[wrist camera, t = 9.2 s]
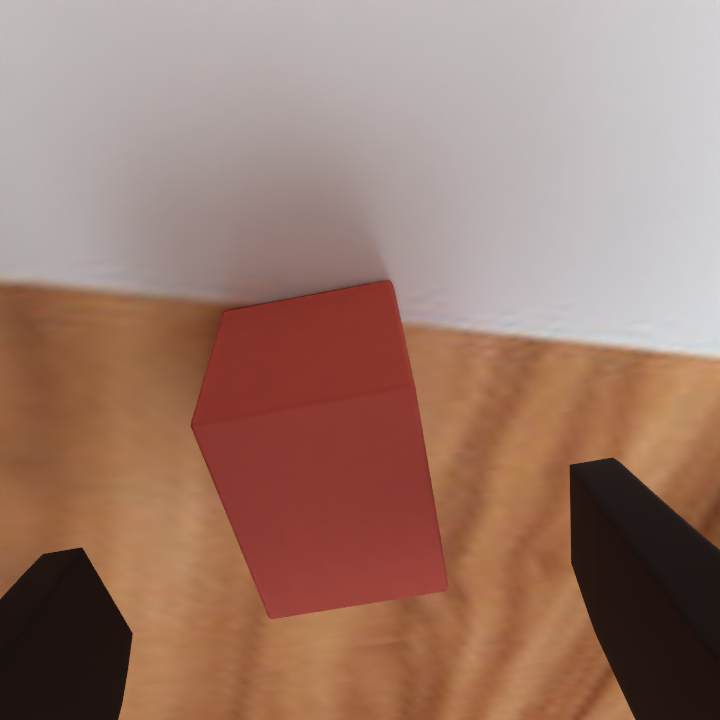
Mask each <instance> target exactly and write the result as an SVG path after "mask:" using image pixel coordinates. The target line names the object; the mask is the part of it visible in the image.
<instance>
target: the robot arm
mask: <svg viewBox="0 0 720 720" xmlns="http://www.w3.org/2000/svg"><path fill="white" fill-rule="evenodd" d="M570 510H571V563H572V566H573V569H574V572H575V575H576V578H577V581H578V584H579V587H580V590H581V593H582V596H583V599H584V602H585V605H586V608H587V611H588V614H589V617H590V619H591V622H592V625H593V628H594V631H595V633H596V635H597V638H598V640H599V642H600V644H601V646H602V649H603V651H604V653H605V655H606V657H607V659H608V662H609V664H610V666H611V668H612V670H613V672H614V675H615V677H616V679H617V681H618V683H619V685H620V688H621V690H622V692H623V694H624V696H625V698H626V700H627V702H628V705H629V707H630V709H631V711H632V713H633V715H634V717H635V720H720V550H719V549H718V548H717V547H716V546H714V545H713V544H712V543H711V542H710V541H708V540H707V539H706V538H705V537H704V536H703V535H701V534H700V533H699V532H698V531H697V530H695V529H694V528H693V527H692V526H691V525H690V524H688V523H687V522H686V521H685V520H684V519H683V518H682V517H680V516H679V515H678V514H677V513H676V512H675V511H673V510H672V509H671V508H670V507H669V506H668V505H667V504H665V503H664V502H663V501H662V500H661V499H660V498H659V497H658V496H657V495H655V494H654V493H653V492H652V491H651V490H650V489H649V488H648V487H647V486H645V485H644V484H643V483H642V482H641V481H640V480H639V479H638V478H637V477H636V476H634V475H633V474H632V473H631V472H630V471H629V470H628V469H627V468H626V467H625V466H623V465H622V464H621V463H620V462H619V461H617V460H616V459H614V458H608V459H602V460H596V461H590V462H584V463H578V464H572V465H570ZM132 635H133V633H132V632H131V630H130V628H129V626H128V625H127V623H126V621H125V620H124V618H123V616H122V615H121V613H120V611H119V609H118V608H117V606H116V604H115V603H114V601H113V599H112V598H111V596H110V594H109V592H108V591H107V589H106V587H105V586H104V584H103V582H102V580H101V579H100V577H99V575H98V574H97V572H96V570H95V569H94V567H93V565H92V563H91V562H90V560H89V558H88V557H87V555H86V553H85V552H84V550H83V548H76V549H70V550H64V551H58V552H53V553H47V554H43V555H42V556H41V557H40V558H39V559H38V560H37V561H36V562H35V563H34V564H33V565H32V566H31V567H30V568H29V569H28V570H27V571H26V572H25V573H24V574H23V575H22V576H21V577H20V578H19V580H18V581H17V582H16V583H15V584H14V585H13V586H12V587H11V588H10V589H9V590H8V592H7V593H6V594H5V595H4V596H3V597H2V598H1V599H0V720H118V718H119V714H120V710H121V706H122V702H123V696H124V690H125V684H126V678H127V672H128V664H129V657H130V650H131V642H132Z"/></svg>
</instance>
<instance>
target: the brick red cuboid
mask: <svg viewBox="0 0 720 720" xmlns="http://www.w3.org/2000/svg"><path fill="white" fill-rule="evenodd" d="M191 428H192V430H193V433H194V435H195V438H196V440H197V443H198V445H199V448H200V450H201V452H202V455H203V457H204V460H205V462H206V465H207V467H208V470H209V472H210V475H211V477H212V479H213V482H214V484H215V487H216V489H217V492H218V494H219V497H220V499H221V502H222V504H223V506H224V509H225V511H226V514H227V516H228V519H229V521H230V524H231V526H232V528H233V531H234V533H235V536H236V538H237V541H238V543H239V546H240V548H241V551H242V553H243V555H244V558H245V560H246V563H247V565H248V568H249V570H250V573H251V575H252V578H253V580H254V582H255V585H256V587H257V590H258V592H259V595H260V597H261V600H262V602H263V604H264V607H265V609H266V612H267V614H268V617H269V618H271V619H275V618H281V617H288V616H294V615H300V614H306V613H313V612H319V611H325V610H331V609H338V608H344V607H350V606H356V605H363V604H369V603H375V602H381V601H388V600H394V599H400V598H406V597H413V596H419V595H425V594H431V593H438V592H444V591H446V590H447V589H448V580H447V574H446V568H445V562H444V556H443V550H442V544H441V538H440V532H439V526H438V520H437V514H436V508H435V502H434V496H433V490H432V484H431V478H430V472H429V467H428V461H427V455H426V449H425V443H424V437H423V431H422V425H421V419H420V413H419V407H418V401H417V395H416V389H415V384H414V379H413V374H412V370H411V365H410V360H409V356H408V351H407V346H406V342H405V337H404V333H403V328H402V323H401V319H400V314H399V309H398V305H397V300H396V295H395V291H394V286H393V283H392V282H391V281H384V282H378V283H373V284H368V285H362V286H357V287H352V288H346V289H341V290H336V291H330V292H325V293H320V294H314V295H309V296H304V297H299V298H293V299H288V300H283V301H277V302H272V303H267V304H261V305H256V306H251V307H245V308H240V309H235V310H229V311H225V312H224V313H223V315H222V318H221V322H220V325H219V329H218V332H217V335H216V339H215V342H214V346H213V349H212V352H211V356H210V359H209V363H208V366H207V370H206V373H205V376H204V380H203V383H202V387H201V390H200V394H199V397H198V400H197V404H196V407H195V411H194V414H193V418H192V421H191Z"/></svg>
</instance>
